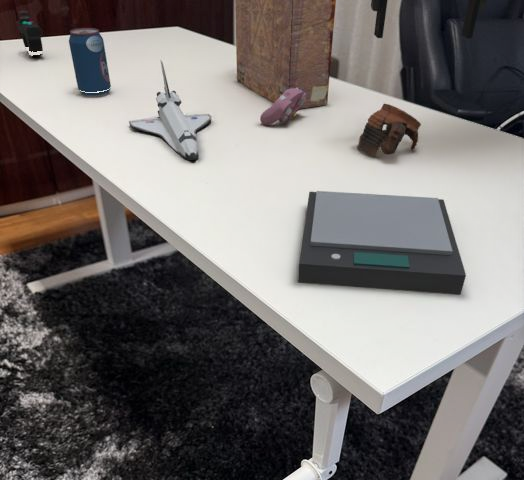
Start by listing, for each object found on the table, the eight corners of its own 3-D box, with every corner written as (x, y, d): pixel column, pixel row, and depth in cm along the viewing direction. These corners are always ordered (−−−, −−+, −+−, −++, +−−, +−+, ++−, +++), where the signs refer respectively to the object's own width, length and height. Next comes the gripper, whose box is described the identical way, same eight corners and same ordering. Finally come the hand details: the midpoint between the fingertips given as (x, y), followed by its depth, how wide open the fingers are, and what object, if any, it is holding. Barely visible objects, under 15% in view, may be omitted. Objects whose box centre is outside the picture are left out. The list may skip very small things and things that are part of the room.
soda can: (115, 95, 117) (105, 32, 109) (83, 99, 114) (70, 35, 107) (107, 87, 121) (97, 26, 114) (76, 91, 119) (63, 28, 111)
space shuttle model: (146, 168, 86) (137, 101, 80) (126, 120, 104) (118, 62, 98) (239, 157, 90) (238, 93, 83) (204, 113, 108) (201, 57, 101)
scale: (439, 216, 74) (444, 194, 72) (460, 294, 60) (467, 270, 58) (308, 208, 76) (309, 187, 74) (297, 282, 61) (299, 258, 59)
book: (236, 81, 126) (232, -84, 107) (271, 76, 129) (274, -84, 110) (288, 111, 109) (295, -79, 90) (327, 105, 112) (342, -79, 93)
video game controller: (275, 136, 102) (291, 104, 97) (256, 121, 102) (271, 88, 97) (298, 122, 109) (315, 91, 103) (281, 108, 109) (296, 76, 104)
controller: (39, 51, 148) (29, 9, 142) (50, 61, 140) (40, 16, 134) (23, 53, 146) (12, 10, 140) (33, 63, 138) (22, 18, 132)
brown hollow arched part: (349, 143, 96) (373, 98, 93) (393, 169, 98) (418, 125, 95) (362, 150, 86) (390, 99, 82) (411, 178, 88) (441, 129, 85)
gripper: (539, -152, 72) (494, 31, 85) (353, -154, 71) (337, 31, 85) (566, -155, 66) (512, 41, 80) (363, -158, 65) (344, 41, 79)
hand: (422, 36), depth 82 cm, fingers open, 13 cm apart
